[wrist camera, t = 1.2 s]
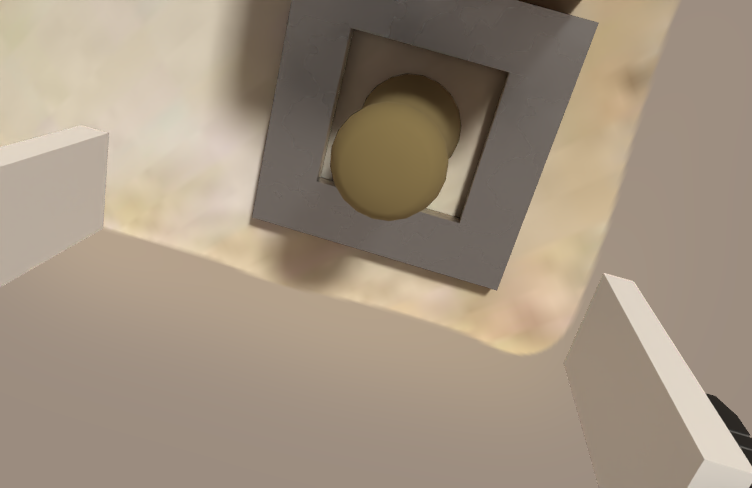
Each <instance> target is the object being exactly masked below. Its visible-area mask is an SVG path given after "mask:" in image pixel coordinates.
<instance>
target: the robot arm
mask: <svg viewBox="0 0 752 488" xmlns="http://www.w3.org/2000/svg"><path fill="white" fill-rule="evenodd" d="M108 141H109V133H108V132H104V131H101V130H97V129H94V128H90V127H87V126H83V125H80V126H76V127H72V128H68V129H65V130H61V131H57V132H54V133H50V134H46V135H42V136H39V137H35V138H31V139H28V140H24V141H20V142H17V143H13V144H9V145H5V146H2V147H0V287H2V286H3V285H5V284H7V283H9V282H10V281H12V280H14V279H16V278H17V277H19V276H21V275H23V274H24V273H26V272H28V271H29V270H31V269H33V268H34V267H37V266H38V265H40V264H42V263H44V262H46V261H47V260H49V259H51V258H52V257H54V256H56V255H58V254H60V253H61V252H63V251H65V250H67V249H68V248H70V247H72V246H74V245H75V244H77V243H79V242H81V241H82V240H84V239H86V238H88V237H89V236H91V235H93V234H95V233H96V232H98V231H100V230H102V229H103V221H104V205H105V189H106V173H107V157H108ZM564 366H565V370H566V373H567V377H568V380H569V384H570V387H571V391H572V395H573V398H574V402H575V405H576V409H577V412H578V416H579V419H580V423H581V426H582V430H583V434H584V437H585V440H586V444H587V448H588V451H589V455H590V458H591V462H592V465H593V469H594V473H595V476H596V480H597V484H598V487H599V488H752V438H750V437H749V435H750V434H749V432H748V431H747V430H746V428H745V427H744V425H743V424H742V422H741V421H740V419H739V418H738V416H737V415H736V414H735V413H734V412H732V411H731V410H730V409H729V408H728V407H727V406H726V405H725V404H724V403H723V402H721V401H720V400H719V399H718V398H717V397H716V396H713V395H710V394H706V393H705V392H704V391H703V389H702V387H701V386H700V384H699V383H698V381H697V380H696V378H695V377H694V375H693V373H692V372H691V370H690V369H689V367H688V366H687V364H686V362H685V361H684V359H683V358H682V356H681V355H680V353H679V352H678V350H677V348H676V347H675V345H674V344H673V342H672V341H671V339H670V337H669V336H668V334H667V333H666V331H665V330H664V328H663V326H662V325H661V323H660V322H659V320H658V319H657V317H656V316H655V314H654V312H653V311H652V309H651V308H650V306H649V305H648V303H647V301H646V300H645V298H644V297H643V295H642V294H641V292H640V290H639V289H638V287H637V286H636V284H635V283H634V281H631V280H627V279H624V278H620V277H617V276H613V275H610V274H606V273H603V275H602V277H601V280H600V282H599V284H598V287H597V289H596V291H595V293H594V295H593V298H592V300H591V302H590V305H589V307H588V309H587V311H586V314H585V316H584V318H583V320H582V322H581V325H580V327H579V329H578V331H577V334H576V336H575V338H574V340H573V343H572V345H571V347H570V350H569V352H568V354H567V356H566V359H565V361H564Z"/></svg>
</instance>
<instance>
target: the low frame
mask: <svg viewBox="0 0 752 488" xmlns="http://www.w3.org/2000/svg"><path fill="white" fill-rule="evenodd" d="M597 26H598V22H594V21H590V20H587V19H583V18H579V17H576V16H572V15H569V14H565V13H561V12H558V11H554V10H550V9H547V8H543V7H539V6H536V5H532V4H528V3H525V2H521V1H518V0H292V2H291V7H290V13H289V18H288V24H287V29H286V35H285V40H284V46H283V51H282V57H281V62H280V68H279V73H278V79H277V84H276V90H275V95H274V101H273V106H272V112H271V117H270V123H269V128H268V134H267V139H266V145H265V150H264V156H263V161H262V167H261V172H260V178H259V183H258V189H257V194H256V200H255V205H254V211H253V216H252V217H253V218H256V219H259V220H263V221H266V222H269V223H273V224H276V225H279V226H283V227H286V228H289V229H293V230H296V231H300V232H303V233H306V234H310V235H313V236H316V237H320V238H323V239H326V240H330V241H333V242H336V243H340V244H343V245H346V246H350V247H353V248H356V249H360V250H363V251H366V252H370V253H373V254H377V255H380V256H383V257H387V258H390V259H393V260H397V261H400V262H403V263H407V264H410V265H413V266H417V267H420V268H423V269H427V270H430V271H433V272H437V273H440V274H443V275H447V276H450V277H453V278H457V279H460V280H464V281H467V282H470V283H474V284H477V285H480V286H484V287H487V288H490V289H494V290H497V289H498V286H499V284H500V281H501V278H502V276H503V273H504V270H505V268H506V265H507V263H508V260H509V257H510V255H511V252H512V249H513V247H514V244H515V242H516V239H517V236H518V234H519V231H520V228H521V226H522V223H523V220H524V218H525V215H526V213H527V210H528V207H529V205H530V202H531V199H532V197H533V194H534V192H535V189H536V186H537V184H538V181H539V178H540V176H541V173H542V171H543V168H544V165H545V163H546V160H547V157H548V155H549V152H550V149H551V147H552V144H553V142H554V139H555V136H556V134H557V131H558V128H559V126H560V123H561V121H562V118H563V115H564V113H565V110H566V107H567V105H568V102H569V100H570V97H571V94H572V92H573V89H574V86H575V84H576V81H577V78H578V76H579V73H580V71H581V68H582V65H583V63H584V60H585V57H586V55H587V52H588V50H589V47H590V44H591V42H592V39H593V36H594V34H595V31H596V29H597ZM354 29H356V30H360V31H363V32H367V33H370V34H374V35H378V36H381V37H385V38H388V39H392V40H395V41H399V42H403V43H406V44H410V45H413V46H417V47H420V48H424V49H427V50H431V51H435V52H438V53H442V54H445V55H449V56H452V57H456V58H460V59H463V60H467V61H470V62H474V63H477V64H481V65H484V66H488V67H492V68H495V69H499V70H502V71H506V72H508V75H507V78H506V81H505V84H504V87H503V90H502V93H501V96H500V99H499V102H498V105H497V108H496V111H495V114H494V117H493V120H492V123H491V126H490V129H489V132H488V135H487V138H486V141H485V144H484V147H483V150H482V153H481V156H480V159H479V162H478V165H477V168H476V171H475V174H474V177H473V180H472V183H471V186H470V189H469V192H468V195H467V198H466V201H465V204H464V207H463V210H462V213H461V216H460V218H458V217H454V216H451V215H447V214H444V213H440V212H437V211H434V210H430V209H427V208H425V209H424V210H422V211H420V212H418V213H416V214H414V215H412V216H410V217H408V218H406V219H399V220H393V221H385V220H379V219H372V218H370V217H368V216H366V215H364V214H361V213H359V212H357V211H356V210H355V209H354V208H352V207H351V206H350V205H349V204H348V203H347V202H346V201H345V200H344V199H343V198H342V196H341V194H340V193H339V191H338V189H337V188H336V186H335V184H334V181H332V180H328V179H325V178H321V172H322V168H323V164H324V159H325V155H326V150H327V146H328V141H329V137H330V132H331V128H332V124H333V119H334V115H335V110H336V106H337V101H338V97H339V92H340V88H341V84H342V79H343V75H344V70H345V66H346V61H347V57H348V52H349V48H350V44H351V39H352V35H353V30H354Z"/></svg>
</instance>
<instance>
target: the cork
mask: <svg viewBox="0 0 752 488" xmlns="http://www.w3.org/2000/svg"><path fill="white" fill-rule="evenodd" d="M460 130H461V122H460V116H459V110H458V107H457V106H456V104H455V102H454V100H453V98H452V96H451V94H450V93H449V92H448V91H447V90H446V89H445V88H443V87H442V86H441V85H440V84H439V83H438V82H436V81H434V80H431V79H429V78H427V77H425V76H421V75H412V74H405V75H400V76H395V77H391V78H389V79H388V80H386V81H384V82H383V83H381V84H379V85H378V86H377V87H376V88H375V89H374V90H373V91H372V92H371V93H370V95H369V96H368V97H367V98H366V101H365V103H364V105H363V108H362V109H361V110H360V111H358V112H356V113H354V114H353V115H351V116H350V117H349V118H348V120H347V121H346V122H345V123H344V124H343V125H342V127H341V128H340V129H339V130H338V133H337V135H336V137H335V140H334V142H333V145H332V149H331V163H330V167H331V172H332V176H333V180H334V184H335V186H336V188H337V189H338V191H339V193H340V194H341V196H342V198H343V199H344V200H345V201H346V202H347V203H348V204H349V205H350V206H351V207H352V208H354V209H355V210H356V211H357V212H359V213H361V214H364V215H366V216H368V217H370V218H372V219H379V220H385V221H393V220H399V219H406V218H408V217H410V216H412V215H414V214H416V213H418V212H420V211H422V210H424V209H425V208H426V207H427V206H428V205H429V204H430V203H431V202H432V201H433V200H434V199H435V198H436V197H437V196H438V194H439V192H440V190H441V188H442V186H443V184H444V182H445V180H446V174H447V167H448V159H449V158H450V157H451V156H452V154H453V152H454V150H455V148H456V146H457V144H458V142H459V136H460Z"/></svg>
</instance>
